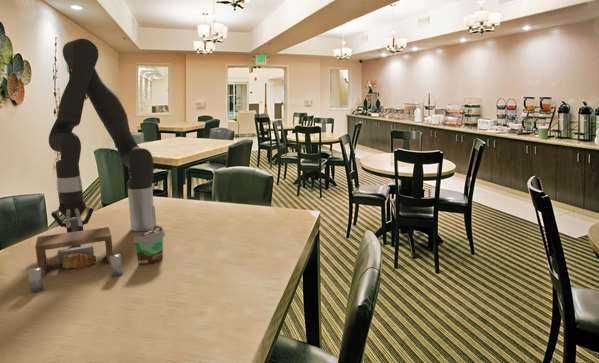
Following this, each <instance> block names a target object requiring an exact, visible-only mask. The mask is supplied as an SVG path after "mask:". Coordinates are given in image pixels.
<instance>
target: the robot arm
mask: <svg viewBox="0 0 599 363" xmlns="http://www.w3.org/2000/svg"><path fill="white" fill-rule="evenodd" d="M62 56H63V59H64V61H65V62H66V64H67V66H68V67H69V68H70V70H71V72H70V76H69V79H68V82H67V84H66V85H65V88H64V90H63V92H62V95H61V97H60V101H59V106H58V111H57V116H56V118H55V121H54V123H53V126H52V127H51V129H50V132H49V135H48V144H49V147H50V149H51V150H53V151H54V152H57V153H60V159H59V160H57V161H56V162H55V172H56V173H55V174H56V187H57V188H56V189H57V196H58V204H59V205H58V208H57V209H56V210H53V211H51V213H50V215H51V216H52V218H53V220H54V221H55V222H56V223H57V224H58V225H59V227H60V228H66V233H69V232H72V231H71V224H70V218H77V220H78V224H79V231H83V230H84V225H86V224H88V223H89V222H90V219H91V218H92V214H93V213H94V207H93V206H89V205H86V203H85V201H84V200H85V199H84V192H83V190H84V189H83V183H82V177H81V172H80V165H79V164H80V159H81V153H82V143H81V140H80V139H81V138H80V137H79V135H77V134H76V133H75V132H73V130H74V128H75V127H78V126H79V125H80V124H81V120H82V116H83V115H82V114H83V109H84V105H85V100H86V96H87V97H88V99H89V101H90V103H91V105H92V107H93V108H94V111H95V112H96V114H97V117H99V119H100V121H101V122H102V124H103V126H104V127H105V130H106V131H107V133H108V134H109V136H110V137H111V139H112V141H113V143H114V145H115V147H116V150H117V152H118V155H119V157H120V159H121V160H122V163H123V164H124V166H125V167H127V168H128V169H129V171H130V172H129V173H130V174H129V175H130V177H129V179H128V180H127V182H126V183H127V184H126V185H127V197H128V208H129V219H130V229H131V231H132V232H146V231H150V230H152V229H153V228H154V225H156V226H157V218H156V206H155V204H154V195H153V194H154V193H153V192H154V191H153V181H154V159H153V155H152V153H151V152H150V151H149V150H148V149H147V148H144V147H141V146H139V145H138V143H137V142H136V140H135V138H134V137H133V135H132V133H131V130H130V125H129V120H128V119H129V118H128V115H127V112H126V110H125V107H124V106H123V104H122V102H121V101H120V99H119V97H118V96H117V94H116V93H115V92H114V91H113V89H111V88H110V86H109V85H107V83H106V82H104V81H103V79H102V78H101V76H100V75H99V74H98V71H97V69H96V68H95V67H96V65H97V62H98V60H99V49H98V47H97V45H96V43H94V42H93V41H92V40H91V39H88V38H84V37H83V38H78V39H74V40H70V41H69V42H66V43H65V44H64V45H63V47H62ZM84 211H86V213H87V214H86V216H85V217H84V219H82V214H83V213H84ZM60 213H61V215H63V216H64V217H65V218H66V219H65V222H64V221H63V220H62V218H61V217H60Z"/></svg>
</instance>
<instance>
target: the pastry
mask: <svg viewBox="0 0 599 363" xmlns="http://www.w3.org/2000/svg"><path fill="white" fill-rule="evenodd" d="M96 262H97V256H96V255H89V254H80V253H76V254H70V255H64V256H63V263H61V264H62V266H61V268H63V269H66V270H71V269H72V268H73V269H79V268H84V267H85V268H86V267H89V266H90V265H93V264H95V263H96Z"/></svg>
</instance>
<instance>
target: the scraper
mask: <svg viewBox="0 0 599 363" xmlns="http://www.w3.org/2000/svg"><path fill="white" fill-rule="evenodd" d="M70 226H71V231H72V232H76V231H79V224H78V220H77V217H72V218H70ZM76 253H80V254H89V255H94V254H95V252H94V245H93V244H90V245H85V246H82V245H75V246H71V247H70V248H65V249H59V250H57V257H58V258H57V259H58V264H59V265H61V264H63V256H64V255H70V254H76ZM94 256H95V255H94Z"/></svg>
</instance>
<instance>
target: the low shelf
mask: <svg viewBox="0 0 599 363" xmlns="http://www.w3.org/2000/svg"><path fill="white" fill-rule="evenodd" d="M110 230H111V229H110V228H109V226H108V227H100V228H98V227H97V228H92V229H85V230H84V229H83V231H76V232H69V233H67V232H64V233H63V232H62V233H57V234H56V233H53V234H48V235H41V236H37V238H36V243H35V246H34V248H35V254H36V261H37V267H40V268H41V272H42V278H43V277H46V274H47V269H48V261H47V260H48V259H47V253H46V251H47V250H55V249H60V248H61V249H62V248H68V247H72V246H75V245H81V246H83V245H87V244H93V243H102V242H104V245H105V254H106V259H107V263H108V265H110V255H113V254H114V250H113V241H112V239H113V238H112V234H111V231H110Z"/></svg>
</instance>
